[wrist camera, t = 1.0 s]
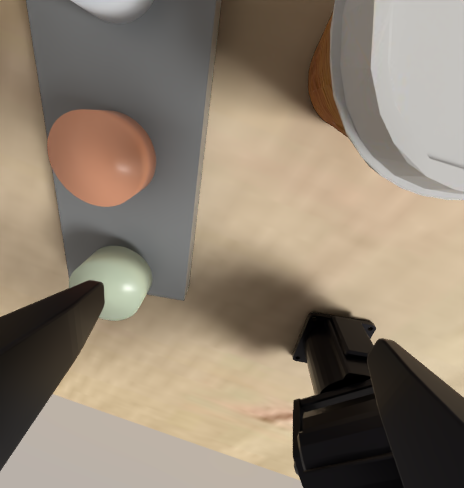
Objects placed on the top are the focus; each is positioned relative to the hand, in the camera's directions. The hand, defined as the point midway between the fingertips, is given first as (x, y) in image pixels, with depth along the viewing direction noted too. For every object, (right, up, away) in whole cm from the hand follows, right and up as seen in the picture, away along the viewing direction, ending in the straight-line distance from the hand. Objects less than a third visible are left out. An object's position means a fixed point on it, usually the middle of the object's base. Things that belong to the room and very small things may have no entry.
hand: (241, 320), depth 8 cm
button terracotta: (-7, +8, +8) cm, 13 cm away
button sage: (-9, 0, +12) cm, 15 cm away
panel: (-7, +9, +10) cm, 16 cm away
